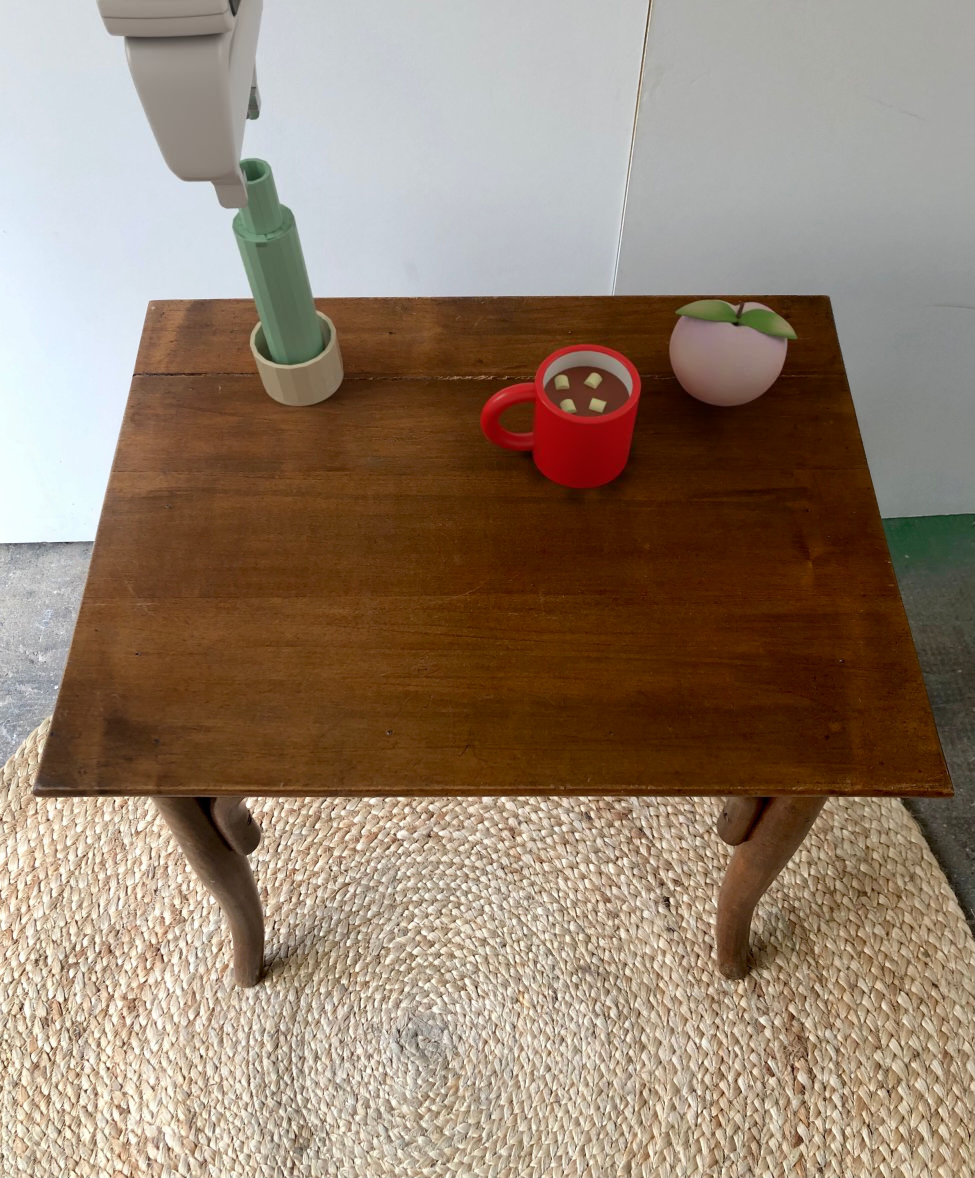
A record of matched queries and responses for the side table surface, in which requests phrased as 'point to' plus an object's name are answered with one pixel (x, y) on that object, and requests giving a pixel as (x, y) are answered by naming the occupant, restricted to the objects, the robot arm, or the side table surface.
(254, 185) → the bottle
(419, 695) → the side table surface
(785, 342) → the decorative fruit
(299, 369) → the holder
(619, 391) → the mug
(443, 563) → the side table surface
